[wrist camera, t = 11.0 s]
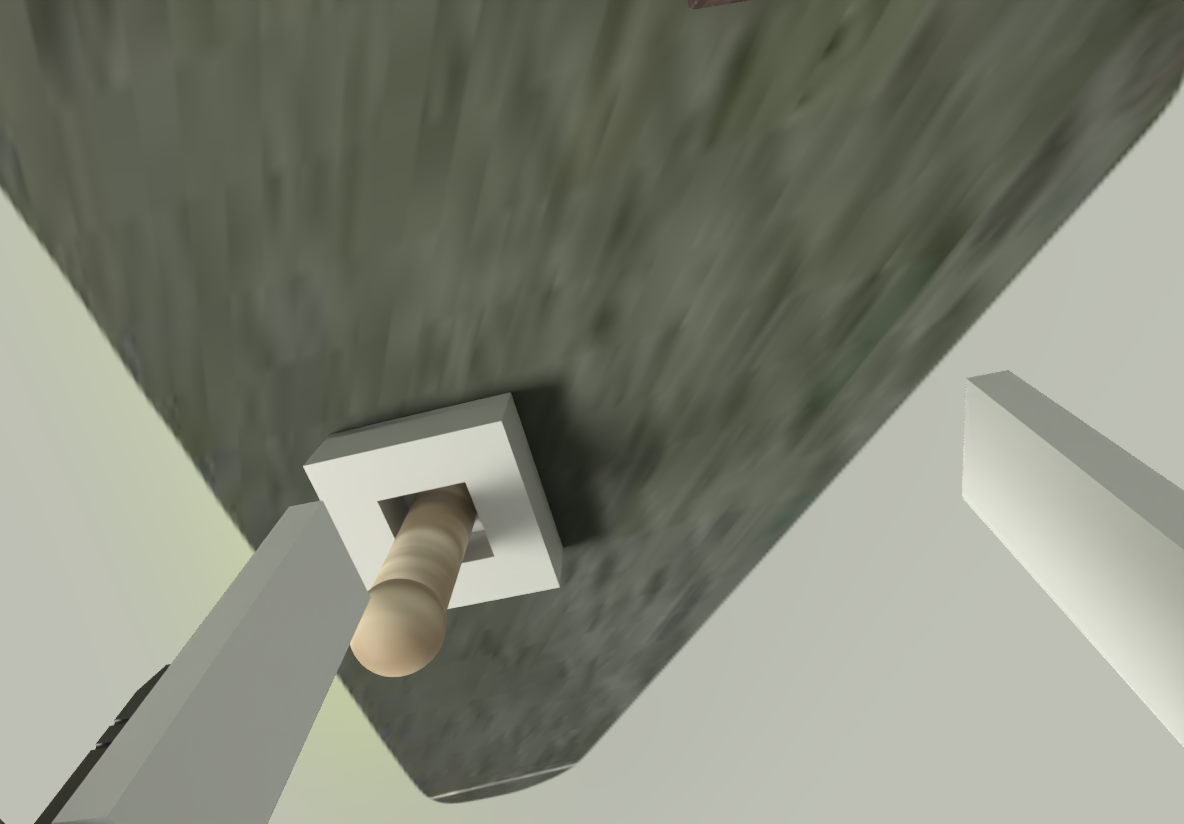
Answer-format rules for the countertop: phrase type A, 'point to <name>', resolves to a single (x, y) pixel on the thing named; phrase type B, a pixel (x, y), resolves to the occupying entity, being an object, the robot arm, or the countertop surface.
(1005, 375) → the robot arm
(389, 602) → the pestle
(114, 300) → the countertop surface
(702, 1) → the box
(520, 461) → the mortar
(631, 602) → the countertop surface
